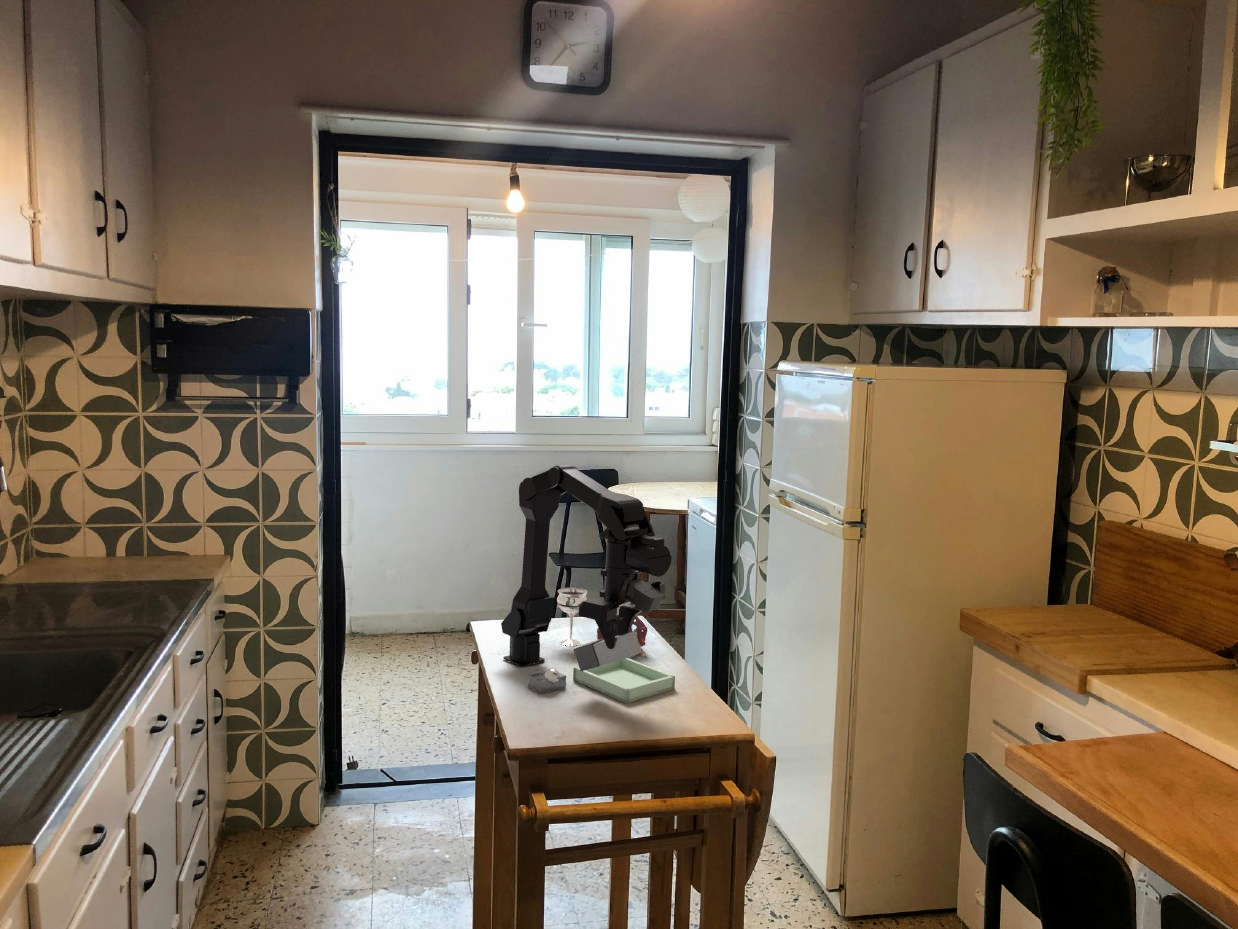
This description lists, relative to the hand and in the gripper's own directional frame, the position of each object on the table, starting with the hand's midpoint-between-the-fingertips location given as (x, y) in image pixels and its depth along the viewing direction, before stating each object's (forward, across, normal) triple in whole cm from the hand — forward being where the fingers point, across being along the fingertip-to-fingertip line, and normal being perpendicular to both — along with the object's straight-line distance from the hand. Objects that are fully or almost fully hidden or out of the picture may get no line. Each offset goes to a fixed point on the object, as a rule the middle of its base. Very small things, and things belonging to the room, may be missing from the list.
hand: (616, 646), depth 180 cm
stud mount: (+11, -3, +14) cm, 18 cm away
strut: (+3, 0, +1) cm, 3 cm away
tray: (+11, +8, +3) cm, 14 cm away
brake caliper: (+11, +26, +15) cm, 32 cm away
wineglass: (+11, +24, +27) cm, 38 cm away
